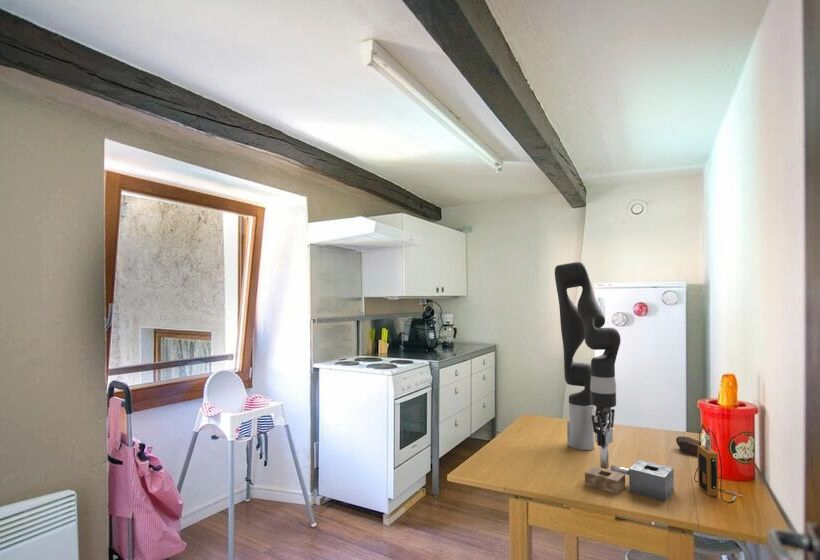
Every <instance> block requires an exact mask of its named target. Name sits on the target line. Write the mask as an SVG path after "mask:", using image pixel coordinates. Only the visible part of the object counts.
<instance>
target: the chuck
mask: <svg viewBox="0 0 820 560" xmlns="http://www.w3.org/2000/svg"><path fill="white" fill-rule="evenodd" d="M609 468H610V469H609V470H610V471H614V472H618V473H622V474H625V476H628V481H629V482H628V485H629V486H628V487H629V488H628V489H629V491H628V492H630V493H634V494H638V495H641V496H645V497H647V498H652V499H655V500H657V501H658V500H659V501H663V502H667V500H668V499H669V497H670V496H671V495H672V494H673V492H674V491H675V478H674V476H675V475H674V471H675V469H674V468H675V467H672V466H668V465H663V464H659V463H655V462H650V461H645V460H643V459H642V460H641V459H638V460H637V461H635V462H634V463H633V465H631V466H630V467H629V468H625V467H621V466H617V465H613V464H611V465H610V467H609Z"/></svg>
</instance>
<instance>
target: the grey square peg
mask: <svg viewBox="0 0 820 560" xmlns="http://www.w3.org/2000/svg"><path fill="white" fill-rule="evenodd" d="M602 428H603V427H602ZM599 430H600V429H599ZM613 434H614V433H613V428H611V429H609V428H605V446H604V447H602V446H599V453H600V454H599V460H600V463H599V465H600V466H599V468H602V469H606V470H609V468H610V465H609V445H610V444H611V443H613V440H614V439H613V438H614V437H613V436H614V435H613ZM594 443H597V433H594Z"/></svg>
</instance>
